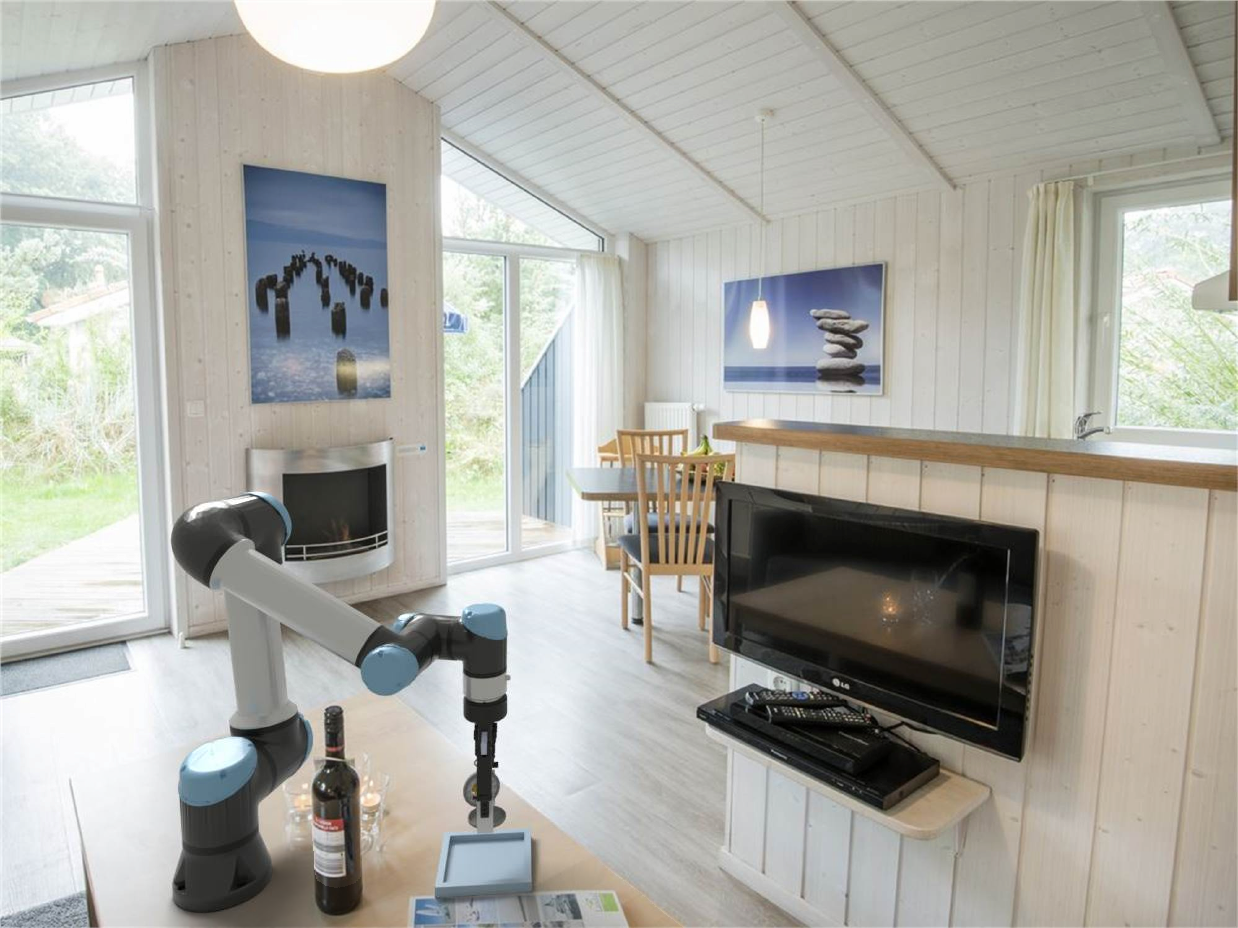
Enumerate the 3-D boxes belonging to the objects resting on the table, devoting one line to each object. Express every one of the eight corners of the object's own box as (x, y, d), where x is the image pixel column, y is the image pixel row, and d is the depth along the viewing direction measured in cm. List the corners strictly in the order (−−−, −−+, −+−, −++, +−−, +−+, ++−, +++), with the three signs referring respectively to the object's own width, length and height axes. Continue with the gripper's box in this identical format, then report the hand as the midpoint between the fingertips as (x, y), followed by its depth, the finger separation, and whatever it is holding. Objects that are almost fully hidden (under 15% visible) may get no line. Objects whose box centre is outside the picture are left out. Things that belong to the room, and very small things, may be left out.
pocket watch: (489, 835, 137) (488, 780, 136) (452, 820, 141) (451, 766, 140) (519, 813, 144) (519, 760, 143) (483, 799, 148) (482, 748, 147)
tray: (434, 897, 134) (434, 887, 134) (444, 841, 150) (444, 832, 150) (531, 891, 136) (531, 881, 136) (530, 836, 152) (530, 827, 152)
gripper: (505, 719, 129) (506, 851, 132) (508, 670, 150) (508, 786, 153) (458, 721, 129) (460, 854, 131) (467, 672, 149) (468, 788, 152)
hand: (486, 817), depth 142 cm, fingers closed on pocket watch, 8 cm apart
